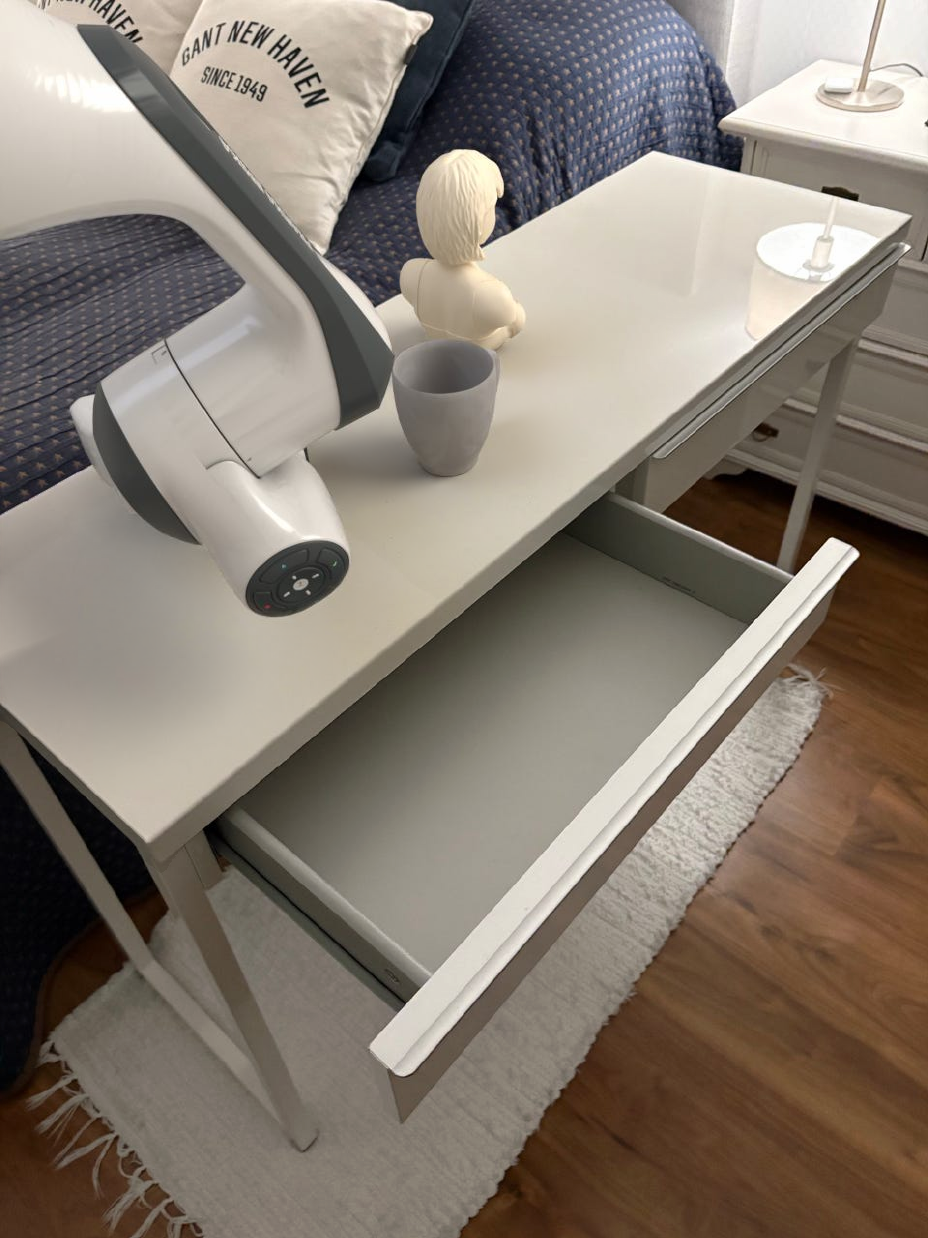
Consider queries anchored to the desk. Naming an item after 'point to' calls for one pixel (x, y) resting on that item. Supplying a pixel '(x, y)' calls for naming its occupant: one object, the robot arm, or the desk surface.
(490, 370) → the mug
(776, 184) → the desk surface
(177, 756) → the desk surface
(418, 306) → the figurine
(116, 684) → the desk surface
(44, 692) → the desk surface
